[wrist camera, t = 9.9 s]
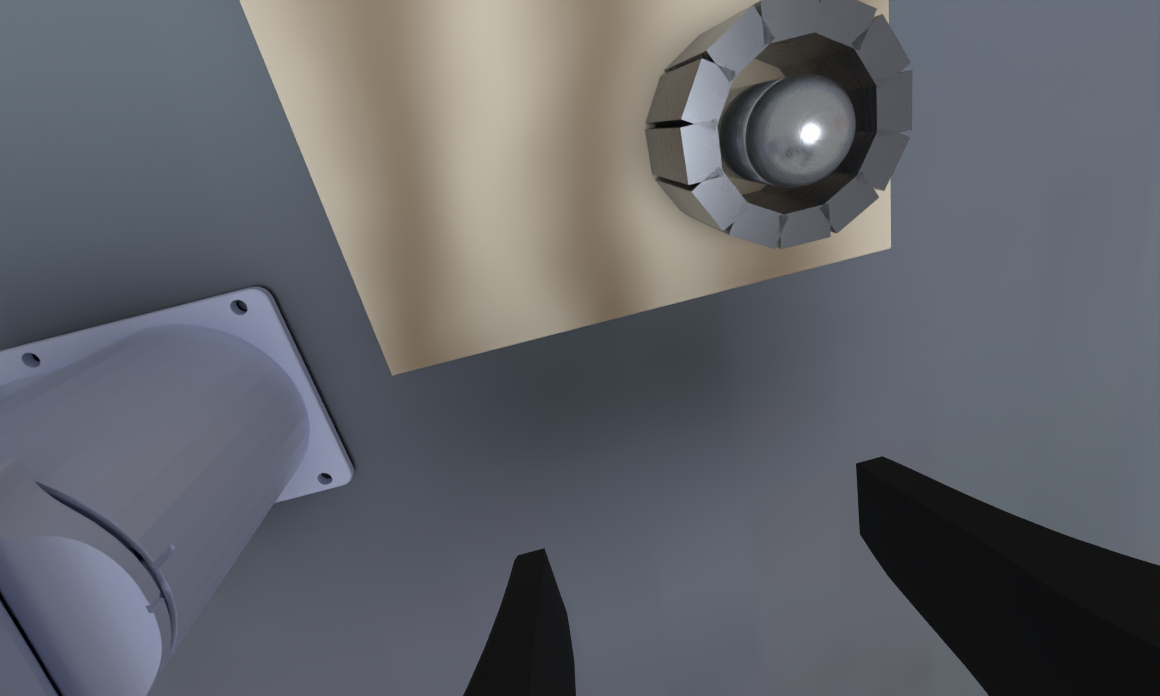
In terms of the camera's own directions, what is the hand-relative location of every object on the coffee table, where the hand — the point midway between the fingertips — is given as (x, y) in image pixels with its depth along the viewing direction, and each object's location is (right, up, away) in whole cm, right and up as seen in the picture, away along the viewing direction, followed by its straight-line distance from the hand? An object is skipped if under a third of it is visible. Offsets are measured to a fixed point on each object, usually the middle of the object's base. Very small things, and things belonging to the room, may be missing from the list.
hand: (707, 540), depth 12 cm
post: (+2, +11, +6) cm, 13 cm away
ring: (+2, +11, +5) cm, 12 cm away
